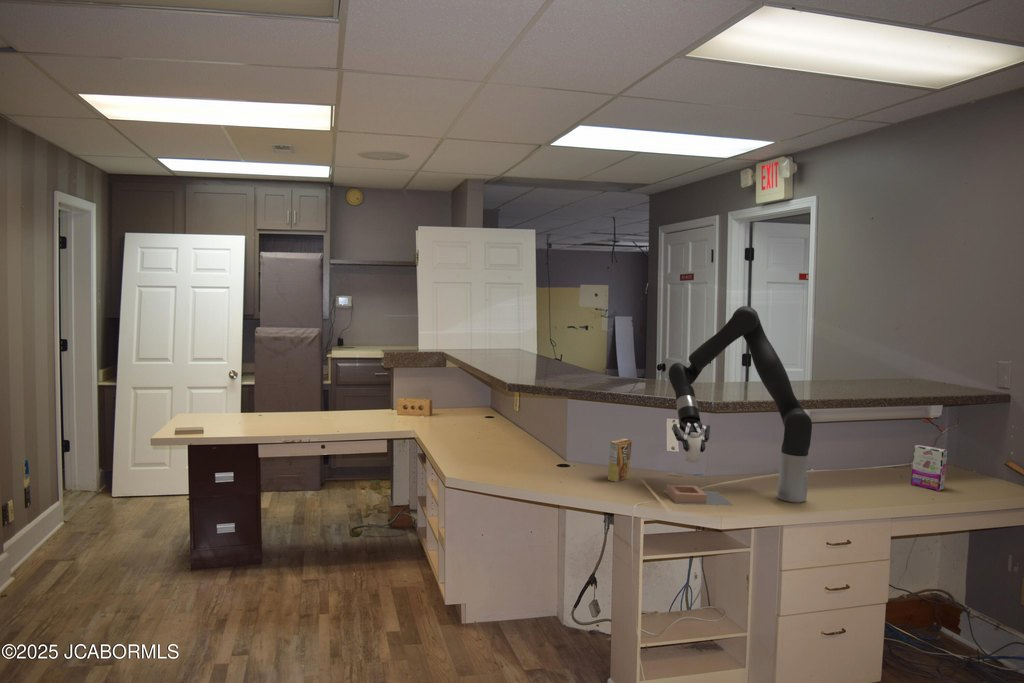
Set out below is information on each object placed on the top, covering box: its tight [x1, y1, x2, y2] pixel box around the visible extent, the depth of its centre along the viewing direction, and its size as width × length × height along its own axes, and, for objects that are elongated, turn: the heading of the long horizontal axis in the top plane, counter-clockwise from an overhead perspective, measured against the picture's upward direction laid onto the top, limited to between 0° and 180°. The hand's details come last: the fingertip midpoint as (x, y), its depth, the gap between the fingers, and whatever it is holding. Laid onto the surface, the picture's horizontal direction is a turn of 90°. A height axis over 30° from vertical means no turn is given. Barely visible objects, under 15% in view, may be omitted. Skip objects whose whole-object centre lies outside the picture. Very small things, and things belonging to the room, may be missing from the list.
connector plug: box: [684, 432, 702, 464], centre depth 266 cm, size 5×5×10 cm
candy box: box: [607, 438, 633, 483], centre depth 289 cm, size 9×4×15 cm, turn 137°
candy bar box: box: [910, 444, 948, 492], centre depth 300 cm, size 11×5×16 cm, turn 40°
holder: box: [662, 484, 734, 506], centre depth 267 cm, size 21×16×4 cm
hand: (695, 450), depth 264 cm, fingers closed on connector plug, 5 cm apart
